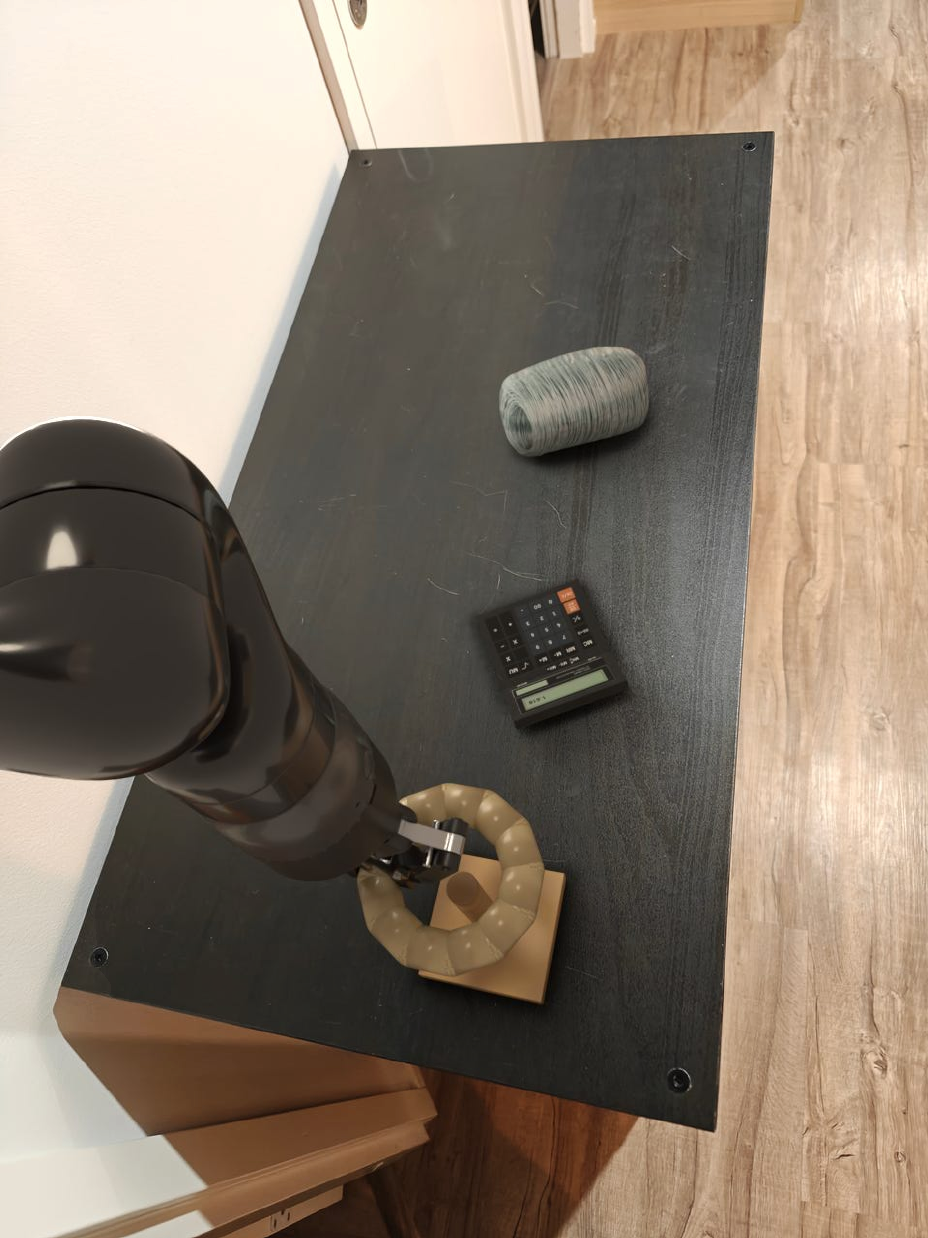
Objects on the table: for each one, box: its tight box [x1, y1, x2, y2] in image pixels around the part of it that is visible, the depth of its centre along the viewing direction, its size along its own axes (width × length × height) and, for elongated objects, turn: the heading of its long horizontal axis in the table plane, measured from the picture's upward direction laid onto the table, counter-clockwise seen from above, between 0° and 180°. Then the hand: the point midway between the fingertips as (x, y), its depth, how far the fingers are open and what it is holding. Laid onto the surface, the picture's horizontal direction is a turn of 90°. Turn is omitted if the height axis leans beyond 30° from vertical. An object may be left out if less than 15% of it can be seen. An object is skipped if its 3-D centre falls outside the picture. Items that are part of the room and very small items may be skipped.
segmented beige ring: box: [356, 782, 546, 977], centre depth 55 cm, size 11×11×2 cm
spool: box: [498, 345, 650, 458], centre depth 86 cm, size 14×10×10 cm
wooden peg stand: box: [418, 853, 567, 1006], centre depth 64 cm, size 9×9×14 cm
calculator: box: [475, 578, 630, 730], centre depth 78 cm, size 9×12×3 cm
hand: (387, 866), depth 57 cm, fingers closed on segmented beige ring, 2 cm apart
